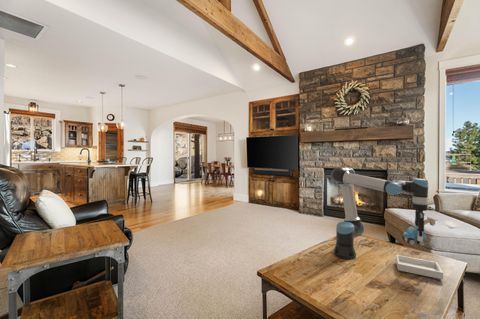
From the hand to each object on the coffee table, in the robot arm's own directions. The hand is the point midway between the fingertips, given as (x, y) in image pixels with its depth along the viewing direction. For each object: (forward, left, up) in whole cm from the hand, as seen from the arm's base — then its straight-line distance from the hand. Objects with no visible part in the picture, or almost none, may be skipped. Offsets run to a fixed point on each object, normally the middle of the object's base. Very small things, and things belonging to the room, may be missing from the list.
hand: (418, 238), depth 149 cm
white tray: (0, 0, -21) cm, 21 cm away
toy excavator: (0, 0, -4) cm, 4 cm away
